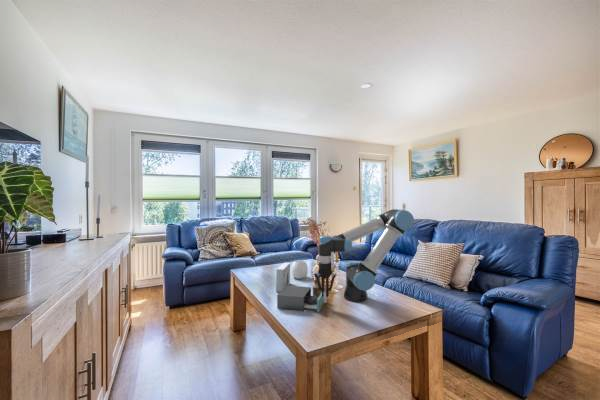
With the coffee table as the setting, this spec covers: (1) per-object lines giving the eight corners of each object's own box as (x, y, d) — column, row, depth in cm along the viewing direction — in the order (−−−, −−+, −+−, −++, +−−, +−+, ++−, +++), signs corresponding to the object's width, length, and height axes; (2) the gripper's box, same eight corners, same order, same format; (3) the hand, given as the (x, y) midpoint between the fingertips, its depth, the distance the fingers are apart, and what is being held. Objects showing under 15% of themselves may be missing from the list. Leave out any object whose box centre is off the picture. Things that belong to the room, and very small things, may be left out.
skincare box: (283, 292, 183) (283, 269, 183) (275, 292, 184) (275, 269, 184) (290, 283, 203) (290, 262, 203) (283, 282, 204) (283, 262, 204)
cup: (291, 275, 223) (291, 259, 223) (306, 275, 224) (306, 259, 224) (292, 280, 210) (292, 263, 210) (309, 279, 211) (308, 262, 211)
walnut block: (321, 296, 174) (321, 285, 174) (319, 299, 170) (319, 288, 170) (314, 296, 175) (314, 285, 175) (313, 298, 171) (313, 287, 171)
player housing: (310, 299, 168) (310, 287, 168) (303, 311, 151) (303, 297, 151) (287, 297, 173) (286, 285, 173) (277, 308, 155) (277, 294, 155)
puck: (307, 299, 164) (307, 295, 164) (319, 300, 162) (319, 296, 162) (304, 304, 156) (304, 300, 156) (317, 305, 154) (317, 301, 154)
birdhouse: (324, 300, 166) (324, 290, 166) (319, 312, 149) (318, 300, 149) (300, 298, 170) (300, 288, 170) (292, 309, 153) (292, 297, 153)
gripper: (337, 261, 159) (337, 300, 159) (315, 260, 162) (315, 298, 162) (335, 264, 151) (335, 305, 151) (313, 262, 155) (313, 303, 155)
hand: (325, 302), depth 157 cm, fingers closed
